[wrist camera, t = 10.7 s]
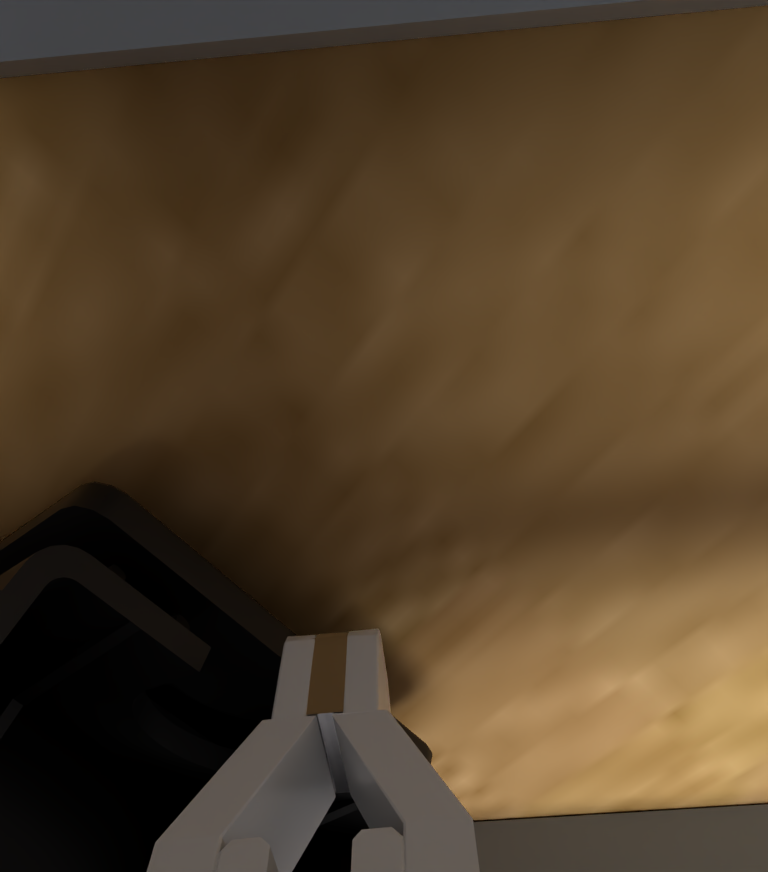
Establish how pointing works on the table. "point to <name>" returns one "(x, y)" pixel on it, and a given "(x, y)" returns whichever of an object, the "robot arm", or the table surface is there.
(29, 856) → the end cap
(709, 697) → the table surface
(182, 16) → the u-shaped frame
